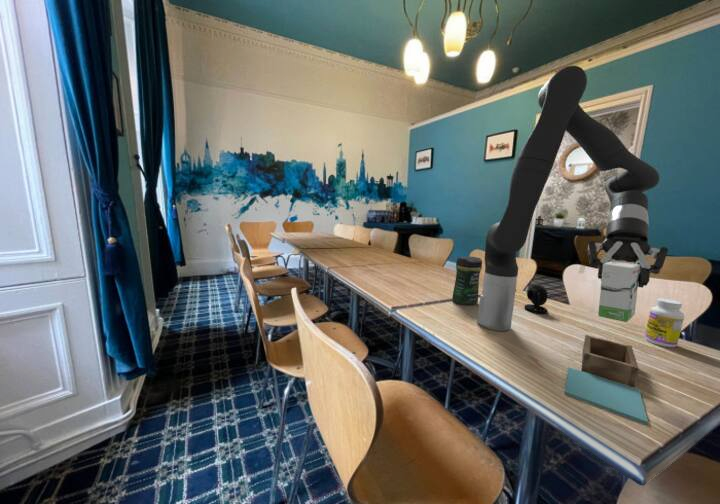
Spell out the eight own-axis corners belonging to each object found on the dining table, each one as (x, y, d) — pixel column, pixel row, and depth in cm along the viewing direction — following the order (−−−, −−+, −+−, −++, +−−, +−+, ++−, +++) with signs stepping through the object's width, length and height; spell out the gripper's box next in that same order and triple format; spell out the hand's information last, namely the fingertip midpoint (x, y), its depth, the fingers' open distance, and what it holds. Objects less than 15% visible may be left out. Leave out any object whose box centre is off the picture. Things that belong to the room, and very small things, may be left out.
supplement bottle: (637, 337, 85) (646, 297, 83) (657, 337, 85) (666, 297, 83) (663, 348, 78) (673, 305, 76) (684, 348, 79) (694, 305, 77)
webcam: (519, 306, 108) (522, 282, 107) (537, 306, 109) (540, 282, 107) (533, 314, 101) (537, 288, 99) (552, 314, 101) (556, 288, 100)
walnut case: (581, 370, 65) (584, 353, 65) (582, 350, 75) (585, 334, 75) (634, 387, 60) (638, 368, 59) (628, 362, 70) (631, 346, 69)
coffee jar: (463, 306, 106) (468, 259, 103) (448, 300, 113) (452, 255, 110) (481, 304, 110) (486, 258, 107) (466, 297, 117) (471, 254, 114)
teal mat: (564, 394, 57) (564, 391, 57) (568, 369, 66) (568, 367, 66) (647, 424, 49) (648, 421, 49) (638, 391, 58) (639, 389, 58)
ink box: (627, 323, 58) (633, 267, 56) (596, 316, 62) (601, 264, 60) (635, 314, 63) (641, 262, 61) (607, 308, 67) (612, 260, 65)
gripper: (591, 214, 71) (582, 267, 63) (674, 218, 62) (675, 279, 55) (587, 234, 76) (579, 284, 68) (663, 239, 67) (663, 298, 60)
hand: (622, 282), depth 62 cm, fingers closed on ink box, 5 cm apart
